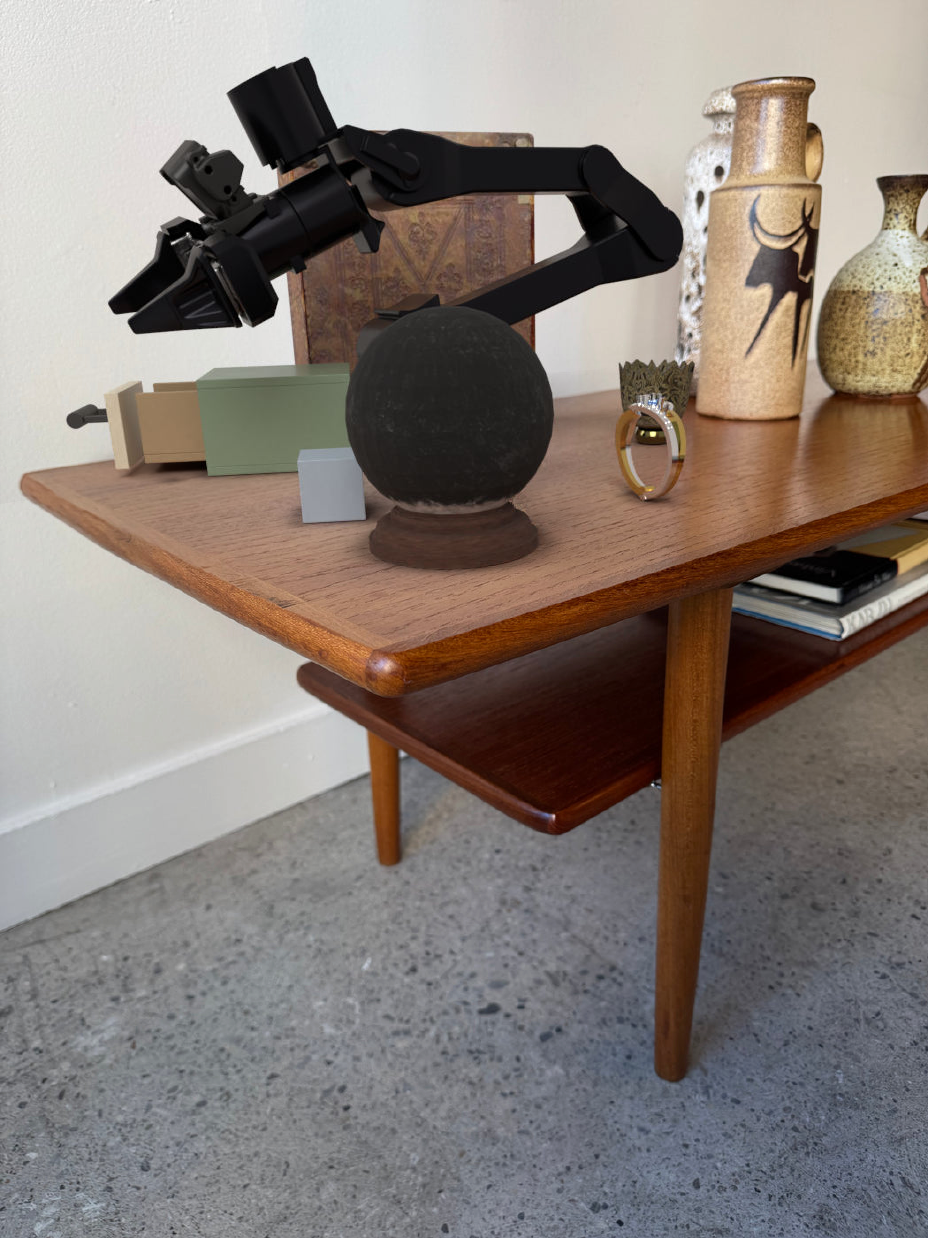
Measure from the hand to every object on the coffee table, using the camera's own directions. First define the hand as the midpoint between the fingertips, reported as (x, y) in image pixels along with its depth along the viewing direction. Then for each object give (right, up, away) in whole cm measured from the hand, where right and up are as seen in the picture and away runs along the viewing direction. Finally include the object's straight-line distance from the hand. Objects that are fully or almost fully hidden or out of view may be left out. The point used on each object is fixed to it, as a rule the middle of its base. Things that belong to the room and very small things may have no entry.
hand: (120, 317), depth 71 cm
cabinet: (+9, -8, +19) cm, 23 cm away
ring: (+41, -14, 0) cm, 43 cm away
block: (+17, -15, -2) cm, 23 cm away
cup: (+46, -5, +23) cm, 52 cm away
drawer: (-2, -8, +18) cm, 20 cm away
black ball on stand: (+26, -18, -10) cm, 33 cm away
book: (+21, -2, +34) cm, 40 cm away
